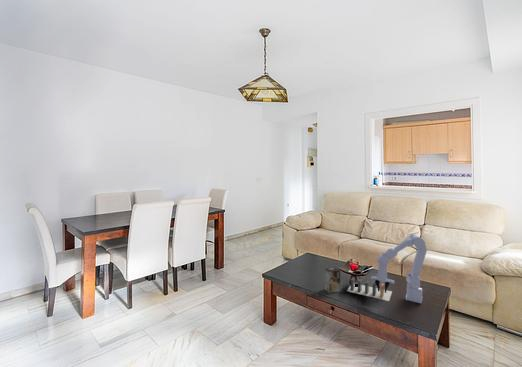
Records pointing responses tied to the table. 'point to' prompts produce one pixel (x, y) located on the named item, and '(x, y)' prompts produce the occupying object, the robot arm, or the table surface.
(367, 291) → the domino
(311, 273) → the table surface
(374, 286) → the domino
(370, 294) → the grey mat
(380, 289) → the domino
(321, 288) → the table surface
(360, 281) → the domino
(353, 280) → the domino
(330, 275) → the coffee box
